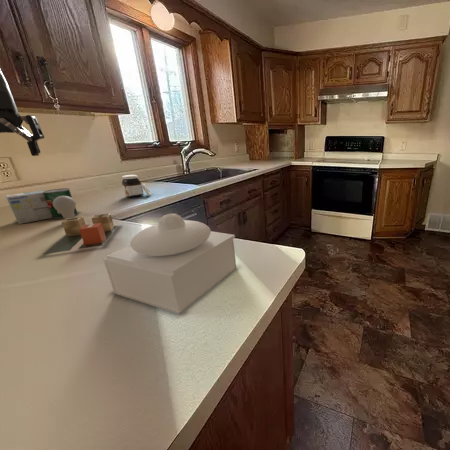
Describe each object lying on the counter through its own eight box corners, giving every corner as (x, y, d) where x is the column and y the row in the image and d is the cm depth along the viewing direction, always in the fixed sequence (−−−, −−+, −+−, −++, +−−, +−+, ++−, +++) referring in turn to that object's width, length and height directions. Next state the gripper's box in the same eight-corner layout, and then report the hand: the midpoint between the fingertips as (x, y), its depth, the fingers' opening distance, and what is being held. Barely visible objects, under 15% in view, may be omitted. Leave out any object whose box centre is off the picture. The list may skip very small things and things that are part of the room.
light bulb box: (52, 214, 105) (43, 189, 101) (56, 217, 101) (46, 191, 97) (16, 221, 97) (4, 194, 93) (18, 224, 93) (6, 197, 89)
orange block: (84, 245, 71) (78, 229, 70) (89, 240, 75) (84, 224, 73) (102, 242, 73) (97, 226, 71) (106, 237, 76) (101, 222, 75)
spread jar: (123, 197, 135) (117, 175, 131) (144, 193, 143) (140, 173, 139) (132, 199, 128) (127, 177, 124) (154, 195, 137) (150, 174, 133)
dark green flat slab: (41, 259, 66) (39, 255, 65) (71, 234, 83) (70, 231, 83) (104, 249, 71) (103, 245, 71) (120, 227, 88) (119, 224, 88)
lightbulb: (60, 228, 89) (49, 198, 85) (61, 224, 93) (50, 195, 89) (82, 224, 92) (72, 195, 89) (82, 220, 97) (72, 193, 93)
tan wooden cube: (66, 236, 78) (61, 221, 76) (72, 232, 81) (66, 217, 80) (83, 234, 79) (78, 219, 78) (87, 230, 83) (82, 216, 81)
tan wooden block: (95, 232, 81) (91, 218, 79) (99, 228, 84) (95, 214, 83) (111, 230, 82) (106, 216, 80) (114, 226, 86) (110, 213, 84)
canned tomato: (48, 217, 101) (38, 191, 97) (71, 212, 108) (62, 187, 104) (59, 219, 98) (49, 192, 94) (82, 214, 105) (73, 188, 101)
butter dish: (114, 295, 50) (91, 222, 45) (183, 256, 66) (172, 199, 60) (179, 316, 44) (161, 234, 38) (238, 268, 60) (231, 205, 54)
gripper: (33, 93, 67) (54, 154, 73) (-41, 90, 62) (-12, 156, 68) (17, 88, 61) (42, 156, 66) (-67, 85, 55) (-33, 158, 61)
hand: (15, 156), depth 67 cm, fingers open, 8 cm apart
